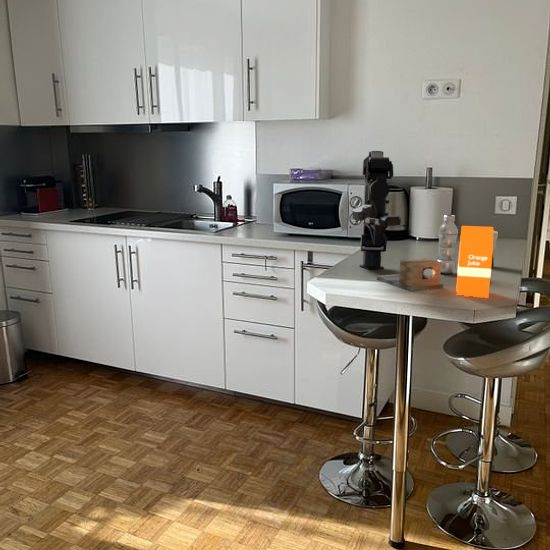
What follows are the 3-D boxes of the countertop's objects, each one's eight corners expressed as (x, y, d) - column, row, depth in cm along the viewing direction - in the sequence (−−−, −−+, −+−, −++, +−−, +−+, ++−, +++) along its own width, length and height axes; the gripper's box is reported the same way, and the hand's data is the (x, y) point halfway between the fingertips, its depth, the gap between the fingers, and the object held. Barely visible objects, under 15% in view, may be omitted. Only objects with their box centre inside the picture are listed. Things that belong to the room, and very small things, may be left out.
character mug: (500, 269, 196) (504, 233, 193) (481, 269, 195) (484, 233, 192) (487, 263, 206) (490, 229, 203) (468, 263, 206) (471, 229, 203)
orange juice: (455, 289, 167) (461, 224, 163) (486, 291, 165) (492, 225, 160) (456, 295, 160) (461, 227, 156) (488, 298, 157) (495, 228, 153)
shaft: (401, 276, 174) (402, 260, 172) (414, 274, 176) (415, 258, 175) (425, 284, 163) (426, 267, 162) (439, 282, 165) (440, 265, 164)
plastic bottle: (450, 271, 193) (455, 214, 188) (457, 275, 186) (462, 216, 182) (432, 271, 193) (436, 214, 188) (439, 275, 186) (443, 216, 182)
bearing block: (376, 279, 180) (377, 255, 178) (406, 275, 185) (407, 252, 183) (411, 291, 164) (413, 265, 162) (442, 287, 169) (444, 262, 167)
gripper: (341, 195, 182) (339, 241, 186) (373, 199, 166) (371, 250, 169) (369, 194, 187) (367, 239, 190) (403, 198, 170) (400, 248, 174)
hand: (375, 244), depth 181 cm, fingers closed
